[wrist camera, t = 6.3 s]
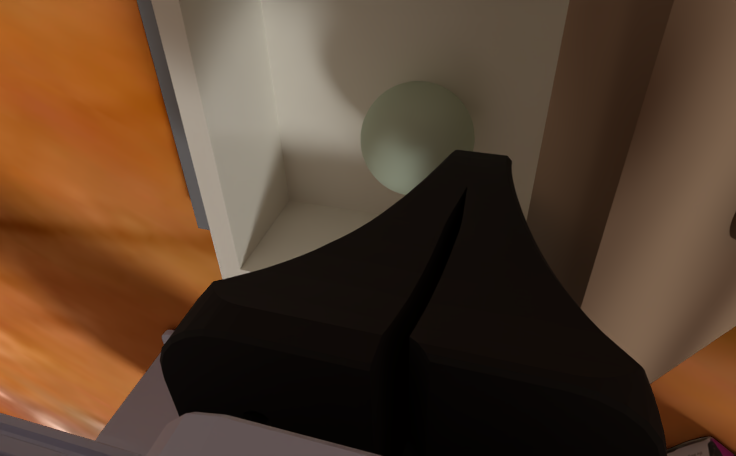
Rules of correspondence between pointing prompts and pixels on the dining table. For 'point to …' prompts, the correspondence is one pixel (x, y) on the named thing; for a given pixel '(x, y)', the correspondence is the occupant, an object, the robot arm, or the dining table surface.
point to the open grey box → (340, 103)
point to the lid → (643, 173)
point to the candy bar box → (700, 448)
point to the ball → (413, 133)
